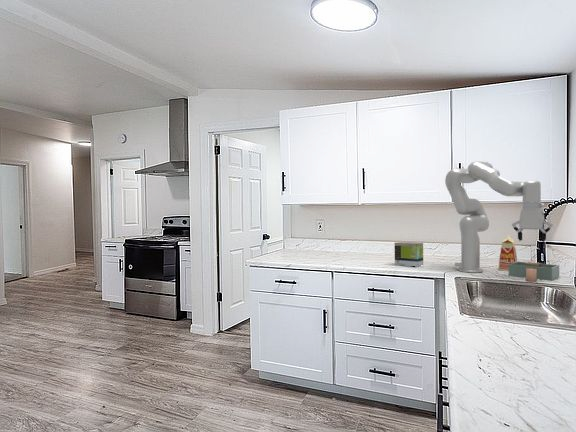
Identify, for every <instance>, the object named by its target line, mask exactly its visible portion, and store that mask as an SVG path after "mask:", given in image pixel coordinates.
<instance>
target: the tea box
mask: <svg viewBox="0 0 576 432" xmlns="http://www.w3.org/2000/svg"><path fill="white" fill-rule="evenodd" d="M399 265H404V266H403V267H410V266H415V267H414V268H419V267H418V266H420V267H422V266H421V265H423V266H424V242H417V241H416V242H415V241H397V242H394V266H399Z"/></svg>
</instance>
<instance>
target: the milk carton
mask: <svg viewBox="0 0 576 432" xmlns="http://www.w3.org/2000/svg"><path fill="white" fill-rule="evenodd" d="M499 254H500V255H499V259H498V269H497V270H498V271H504V272H505V271H506V272H509V264H511V263H515V262H518V260H517V248H516V244H515V241H514V239H513V238H512V237H510V234H508V237H507V238H504V239H503V241H502V243H501V246H500V253H499Z"/></svg>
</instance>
